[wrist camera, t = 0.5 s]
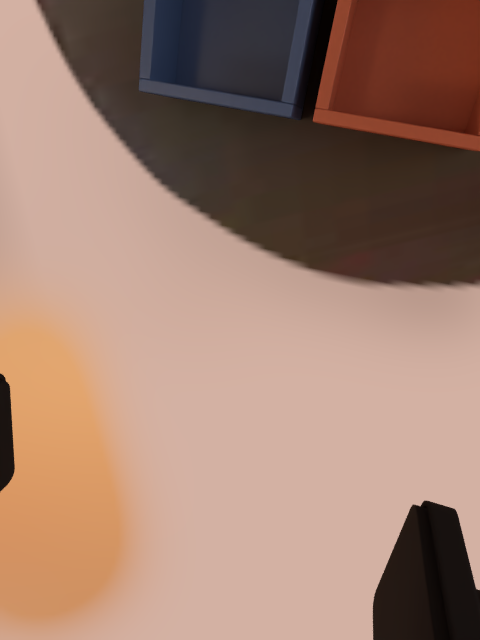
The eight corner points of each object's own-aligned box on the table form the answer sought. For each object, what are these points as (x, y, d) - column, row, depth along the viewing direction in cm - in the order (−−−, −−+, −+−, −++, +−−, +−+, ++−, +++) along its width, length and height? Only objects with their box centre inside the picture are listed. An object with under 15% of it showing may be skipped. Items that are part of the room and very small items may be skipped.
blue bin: (182, -74, 31) (150, -111, 26) (336, -57, 29) (330, -93, 25) (167, 96, 35) (138, 90, 31) (300, 120, 34) (290, 117, 29)
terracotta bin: (357, -55, 29) (356, -91, 24) (533, -35, 27) (567, -70, 23) (319, 123, 33) (312, 121, 29) (469, 150, 32) (487, 152, 27)
